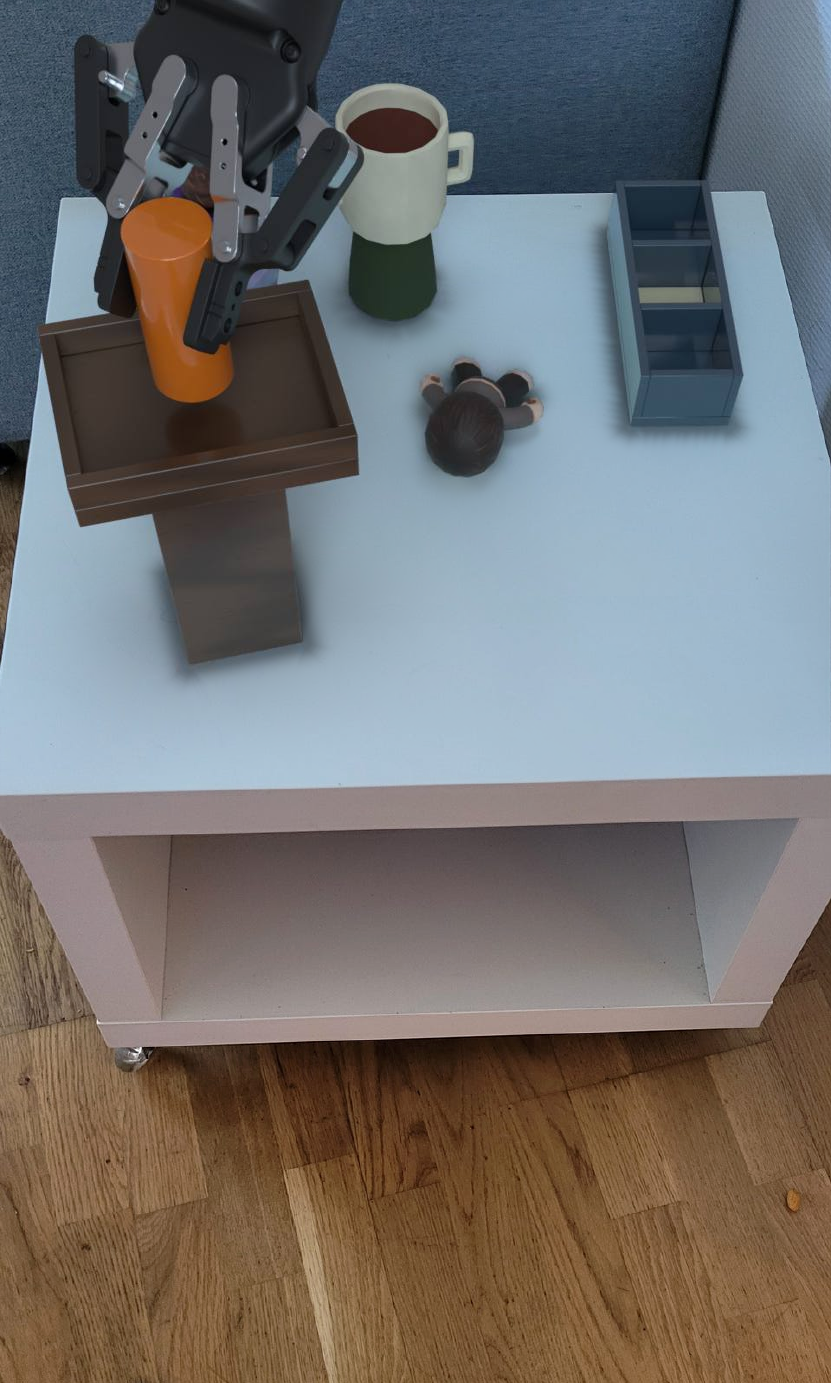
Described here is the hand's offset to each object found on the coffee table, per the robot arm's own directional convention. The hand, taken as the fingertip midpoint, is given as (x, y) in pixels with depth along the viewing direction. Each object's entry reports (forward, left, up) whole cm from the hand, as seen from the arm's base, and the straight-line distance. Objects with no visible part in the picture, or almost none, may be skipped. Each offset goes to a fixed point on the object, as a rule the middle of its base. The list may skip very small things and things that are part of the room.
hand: (157, 330), depth 59 cm
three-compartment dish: (-35, -18, -22) cm, 45 cm away
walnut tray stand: (-1, -1, -22) cm, 23 cm away
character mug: (-17, -25, -23) cm, 38 cm away
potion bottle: (-5, -24, -23) cm, 34 cm away
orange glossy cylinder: (-1, -1, -4) cm, 4 cm away
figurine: (-19, -11, -23) cm, 32 cm away
